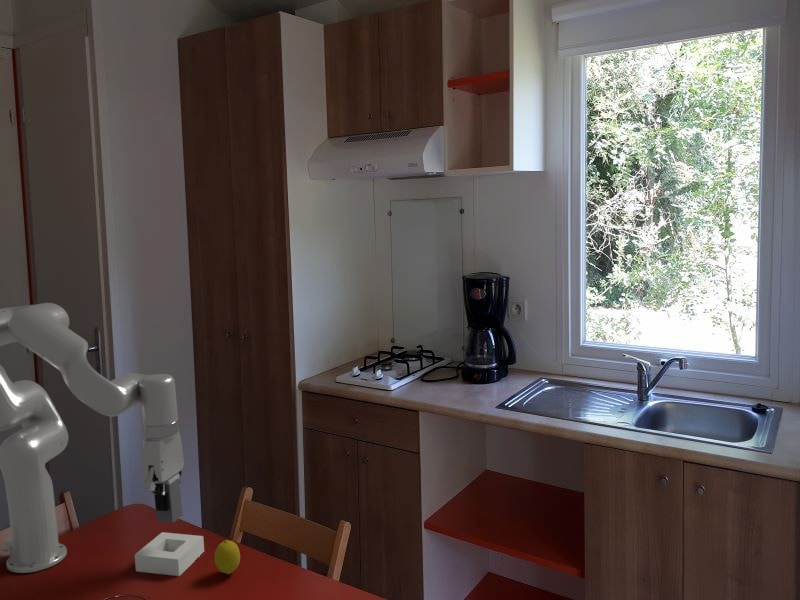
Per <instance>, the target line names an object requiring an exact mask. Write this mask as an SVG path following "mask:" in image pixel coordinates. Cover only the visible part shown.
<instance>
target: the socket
mask: <svg viewBox="0 0 800 600" xmlns="http://www.w3.org/2000/svg"><path fill="white" fill-rule="evenodd" d="M204 544H205V542H204V536H203V535H193V534H187V533H186V534H183V533H173V532H165V531H164V532H163V531H162V532H160V533H159V534H158V535H157V536H155V537H154V539H153V538H152V540H151V541H149V542H148V543H147V544H146V545H144V546H143V547H142V548H140V550H138V551H137V552H136V553H135V554H134V560H135V561H134V564H135V572H138V573H139V572H140V573H149V574H156V575H167V576H175V577H180V576H181V575H182V574H183V573H184V572H185V571H186V570H188V568H189V567H191V566H192V564H194V563H195V562H196V561H195V560H196V559H197V558H198V557H199V558H200V557H201V556H202V555H203V554H204V553H205V545H204ZM203 552H204V553H203ZM202 553H203V554H202ZM201 554H202V555H201ZM200 555H201V556H200ZM199 558H198V559H199ZM198 559H197V560H198Z"/></svg>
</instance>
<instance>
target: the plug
mask: <svg viewBox="0 0 800 600" xmlns="http://www.w3.org/2000/svg"><path fill="white" fill-rule="evenodd" d="M157 480H158V478H157ZM180 484H181V483H180ZM180 484H179V474H175V475H174V476H172V477H171V478H169V479H168V480H166V493H168V498H169V510H168V511H158V510H156V509H155V512H156V520H157V521H156V522H158V523H168V524H169V523H170V524H173V523H175V522H176V521H177V520H179V519H180V518H181V517H182V516H183V509H182V508H183V506H182V497H181V496H182V495H181V487H180ZM158 486H159V487H161V484H158Z"/></svg>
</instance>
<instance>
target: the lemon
mask: <svg viewBox="0 0 800 600" xmlns="http://www.w3.org/2000/svg"><path fill="white" fill-rule="evenodd" d="M240 561H241V553H240V548H239V546H238V544H237V543H236V542H234V541H233V540H228V539H225V540H224V541H222V542H221V543H219V544H218V545H217V547H216V548H215V551H214V563H215V566H216V568H217V570H218V571H219V572H221V573H224V574H226V575H230V574H231V573H233V572H234V571H236V570H237V568H238V567H239V565H240Z"/></svg>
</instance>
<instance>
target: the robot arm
mask: <svg viewBox="0 0 800 600" xmlns="http://www.w3.org/2000/svg"><path fill="white" fill-rule="evenodd" d="M69 326H70V317H69V315H68V313H67V311H66V310H65V309H64V307H61V306H60V305H58V304H57V303H53V302H42V303H37V304H36V303H35V304H30V305H22V306H21V305H20V306H19V305H18V306H12V307H10V306H9V307H4V308H0V347H2V346H5V345H9V344H13V343H18V342H19V343H20V345H23V346H24V347H25V348H26V349H28V350H29V351H31V352H32V353H34V354H36V355H37V356H38V357H40V358H41V359H43V360H44V361H45V362H47V363H49V364H50V365H51V366H52V367H54V368H55V369H57V370H58V371H59V372H60V373H61V375H62V376H61V377H62V379H63V382H64V384H65V385H66V386H67V389H69V390H70V392H71V393H72V394H73V396H74V397H76V398H77V400H79V401H81V402H82V403H83V404H85V405H86V407H89V408H90V409H91V410H93V411H95V412H97V413H98V414H101V415H103V416H106V417H117V416H118V417H119V416H120V415H122V414H124V413H126V412H127V411H129V410H131V409H132V408H134V407H137V406H138V405H141V414H142V415H141V416H142V425H143V427H142V428H143V436H144V439H143V440H142V441H143V443H142V449H141V451H142V452H141V453H142V454H141V459H142V460H141V461H142V464H141V465H142V478H143V481H144V482H145V483H146V485H145V489H146V490H148V491H151V492H152V495H154V505H155V511H156V510H158V511H168V510H169V498H168V493H166V480H168V479H169V478H171V477H172V476H174V475H175V474H179V484H181V476H182V472H183V470H184V467H185V460H184V459H185V458H184V451H183V450H184V449H183V442H182V439H181V438H182V437H181V434H180V426H179V425H180V423H179V415H178V403H177V401H178V400H177V394H176V383H175V379H174V377H173V376H172V375H171V374H168V373H157V374H144V373H143V374H142V373H135V372H129V373H124V374H122V375H120V376H118V377H116V378H114V379H111V380H109V379H107V378H106V377H105V376H102V374H100V373H99V372H97V371H96V370H95V369H94V367H92V365H90V363H89V361H88V359H87V352H88V350H89V343H88V341H87V340H86V339H84V338H83V337H82V336H80V335H78V334H77V333H76V332H74V331H73V330H72V329H70V328H69ZM18 425H21V427H22V429H20V430H18V431H16V432H15V433H13V434H11V435H10V436H8V437H7V438H5V440H4V441H3V442H1V445H0V471H1V474H2V478H3V481H4V487H5V492H6V501H7V508H8V517H9V529H10V537H11V538H10V537H9V538H6V539H5V540H4V544H3V545H2V546H1V549H0V550H1V551H2V552H9V557H8V558H7V560H6V569H7V570H8V571H10V572H12V573H16V574H28V573H35V572H39V571H43V570H46V569H48V568H50V567H54V566H55V565H57V564H58V563H60V562H62V561H63V560H64V559H65V557H67V554H68V551H67V547H66V546H65V545H64V544H62V543H60V542H59V534H58V524H57V514H56V503H55V493H54V486H53V485H54V484H53V482H52V481H53V480H52V478H51V476H50V474H49V472H48V470H47V468H46V463H48V462H49V461H50V460H52V459H53V458H55V457H57V456H59V455H60V454H61V453H62V452H63V451H64V450H65V449H66V447H67V446H68V443H69V432H68V430H67V427H66V425H65V423H64V421H63V419H62V417H61V416H60V413H59V412H58V410H57V409H56V406H55V405H54V402H53V401H52V399H51V397H50V396H49V394H48V393H47V391H46V390H45V389H44V387H42V386H41V385H40V384H38V383H37V382H34V381H33V380H26V379H25V380H24V379H23V380H17V381H14V382H13V381H12V380H11V379H10V377H9V376H8V374H7V372H6V369H4V367H3V366H2V364H1V363H0V432H3V431H7V430H11V429H12V428H14V427H17V426H18ZM157 478H158V480H157ZM158 484H161V487H159V486H158Z"/></svg>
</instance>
